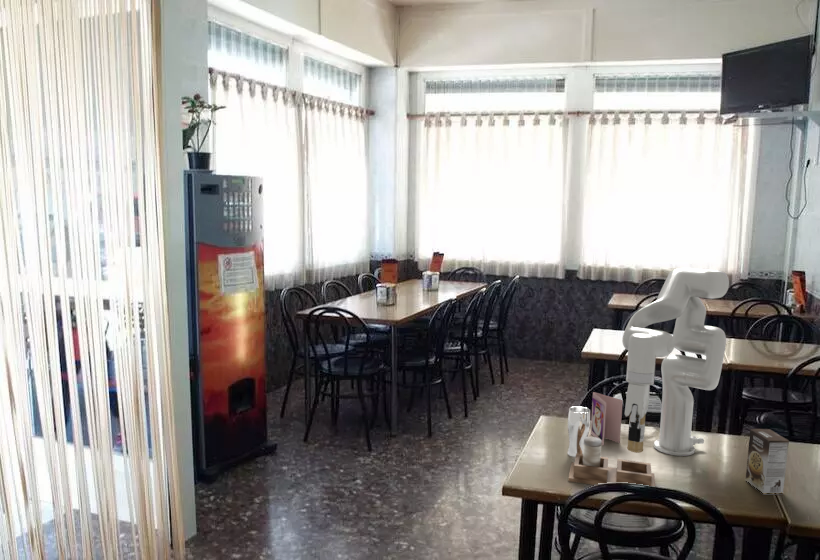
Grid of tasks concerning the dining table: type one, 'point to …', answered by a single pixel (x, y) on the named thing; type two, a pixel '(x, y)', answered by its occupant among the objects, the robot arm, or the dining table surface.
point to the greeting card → (606, 417)
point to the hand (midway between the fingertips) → (635, 437)
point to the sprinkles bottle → (638, 446)
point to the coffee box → (767, 460)
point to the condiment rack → (597, 471)
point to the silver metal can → (578, 429)
